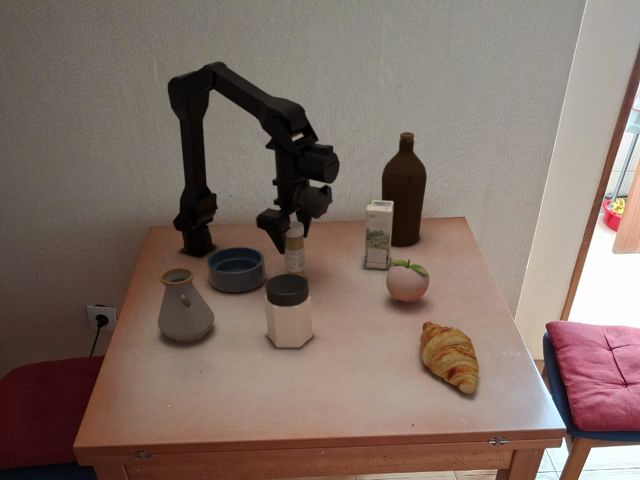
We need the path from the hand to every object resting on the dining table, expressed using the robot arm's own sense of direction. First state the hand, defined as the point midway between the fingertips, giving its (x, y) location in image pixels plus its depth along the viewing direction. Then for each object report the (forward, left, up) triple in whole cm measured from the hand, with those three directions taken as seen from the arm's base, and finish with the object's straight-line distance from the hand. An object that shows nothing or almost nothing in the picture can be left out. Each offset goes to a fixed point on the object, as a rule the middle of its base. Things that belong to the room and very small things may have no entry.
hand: (293, 245), depth 134 cm
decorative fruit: (+26, +3, -9) cm, 28 cm away
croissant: (+42, -14, -9) cm, 45 cm away
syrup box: (+13, +16, -9) cm, 22 cm away
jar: (+11, -20, -9) cm, 25 cm away
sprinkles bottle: (0, 0, -9) cm, 9 cm away
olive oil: (+12, +31, -9) cm, 34 cm away
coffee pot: (-5, -32, -9) cm, 33 cm away
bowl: (-12, -6, -9) cm, 16 cm away
